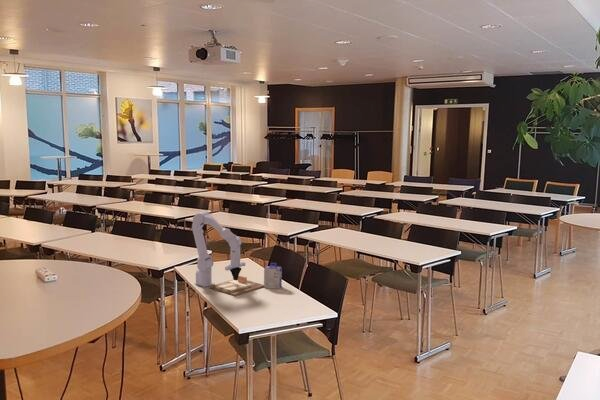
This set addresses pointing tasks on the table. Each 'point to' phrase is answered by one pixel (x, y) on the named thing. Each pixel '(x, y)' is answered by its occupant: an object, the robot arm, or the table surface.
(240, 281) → the stub
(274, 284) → the ink cartridge box
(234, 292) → the board
